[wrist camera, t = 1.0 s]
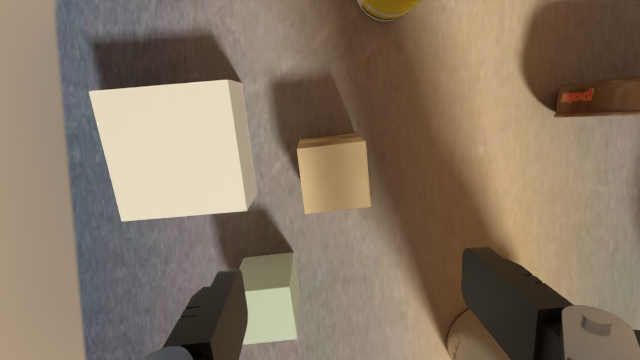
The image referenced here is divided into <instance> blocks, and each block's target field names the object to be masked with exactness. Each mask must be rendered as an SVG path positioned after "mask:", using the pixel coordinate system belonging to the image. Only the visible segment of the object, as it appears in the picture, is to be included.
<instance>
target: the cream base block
mask: <svg viewBox="0 0 640 360" xmlns="http://www.w3.org/2000/svg"><path fill="white" fill-rule="evenodd" d="M89 94H90V98H91V102H92V106H93V110H94V114H95V118H96V122H97V126H98V130H99V134H100V138H101V142H102V146H103V150H104V154H105V158H106V161H107V165H108V169H109V173H110V177H111V181H112V185H113V189H114V193H115V197H116V201H117V205H118V209H119V213H120V217H121V221H133V220H145V219H156V218H168V217H180V216H192V215H204V214H216V213H228V212H240V211H247V210H248V208H249V207H250V205H251V203H252V202H253V200H254V198H255V197H256V195H257V189H256V181H255V174H254V167H253V159H252V152H251V145H250V137H249V130H248V123H247V115H246V108H245V101H244V93H243V86H242V83H240V82H236V81H232V80H216V81H204V82H193V83H181V84H169V85H157V86H145V87H133V88H122V89H110V90H98V91H89Z"/></svg>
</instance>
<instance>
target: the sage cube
mask: <svg viewBox="0 0 640 360" xmlns="http://www.w3.org/2000/svg"><path fill="white" fill-rule="evenodd" d="M239 269H240V270H241V272H242V275H243V282H244V288H245V295H246V302H247V308H248V323H247V329H246V333H245V337H244V341H243V345H245V344H254V343H263V342H273V341H282V340H292V339H297V336H298V322H299V308H300V291H299V284H298V277H297V270H296V263H295V256H294V252H291V253H282V254H273V255H264V256H255V257H246V258H243V261H242V263H241V265H240V267H239Z"/></svg>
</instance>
